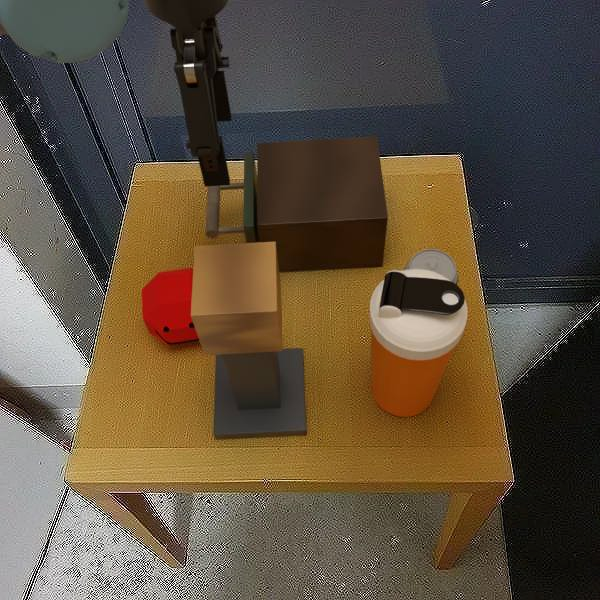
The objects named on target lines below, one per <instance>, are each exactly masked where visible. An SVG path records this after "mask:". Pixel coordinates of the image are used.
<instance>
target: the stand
mask: <svg viewBox="0 0 600 600" xmlns="http://www.w3.org/2000/svg"><path fill="white" fill-rule="evenodd" d="M304 359H305V358H304V348H303V347H296V348H295V347H294V348H293V347H292V348H283V351H277V352H257V353H238V354H218V355H215V372H214V373H215V374H214V400H213V401H214V403H213V437H214V439H215V440H235V439H255V438H273V437H274V438H275V437H277V438H278V437H291V436H292V437H297V436H307V408H306V388H305V387H306V386H305V383H306V382H305V364H304V363H305V362H304Z"/></svg>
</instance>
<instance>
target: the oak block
mask: <svg viewBox="0 0 600 600" xmlns="http://www.w3.org/2000/svg"><path fill="white" fill-rule="evenodd" d="M192 268H193V284H192V302H191V318H192V320H193V323H194V326H195V329H196V332H197V335H198V338H199V341H198V342H199V344H200V346H201V349H202V352H203V354H204V356H216V355H218V354H238V353H257V352H277V351H283V349H284V348H283V311H282V307H283V306H282V282H281V274H280V273H281V272H279V265H278V257H277V249H276V242H259V243H246V242H244V243H242V242H241V243H226V244H225V243H222V244H205V245H204V244H203V245H194V250H193V266H192Z"/></svg>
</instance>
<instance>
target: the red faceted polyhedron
mask: <svg viewBox="0 0 600 600" xmlns="http://www.w3.org/2000/svg"><path fill="white" fill-rule="evenodd" d="M192 284H193V267H185V268H179V269H172V270H165V271H158V272H157V273H156V275H154V277H153V278H151V279H150V280H149V282H148V283H147V284H145V286H144V287H143V288H141V311H142V312H141V313H142V315H141V316H142V320H143V322H144V324H145V327H146V329H147V331H148V334H150V335H152V337H154V338H156V339H157V340H159V341H160V342H162V343H163V344H165V345H166V346H168V347H170V346H171V347H172V346H174V345H175V346H176V345H182V344H188V343H194V342H200V341H199V338H198V335H197V332H196V329H195V326H194V323H193V320H192V318H191V302H192Z"/></svg>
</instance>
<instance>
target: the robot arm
mask: <svg viewBox="0 0 600 600" xmlns="http://www.w3.org/2000/svg"><path fill="white" fill-rule="evenodd" d="M228 2H229V0H144V3H145V6H146V8H147V10H148V11H149V13H150V14H151V15H152V16H153V17H154V18H155V19H157V20H159V21H161V22H164V23H167V24H169V25H170V26H172V27H173V28H170V29H169V35H170V36H169V37H170V42H171V47H172V49H173V50H174V51H175V58H176V61H175V62H174V66H173V71H174V73H175V77H176V80H177V84H178V87H179V92H180V98H181V103H182V108H183V113H184V119H185V124H186V130H187V135H188V140H187V141H186V142H185V143H186V144H185V146H186V149H187V150H190V154H191V156H192V158H197V160H198V165H199V168H200V172H201V178H202V181H203V186H204V187H208V186H224V185H230V183H231V179H230V173H229V167H228V163H227V157H226V153H225V152H226V151H225V146H224V141H223V136H222V135H220V132H219V122H231V121H232V112H231V111H232V110H231V106H230V98H229V92H228V88H227V87H228V86H227V82H226V75H225V70H220V69H230V57H229V56H222V54H221V53H222V52H223V49H224V45H223V43H222V40H221V35H220V30H219V25H218V20H217V15H218V14H220V13H221V12H222V11H223V10H224V9H225V7H226V6H227V4H228ZM129 8H130V0H0V36H3V35H8V36H9V37H10V38H11V39H12V41H13V42H14V43H15V44H16V45H17V46H18V47H20V49H22V50H24V52H27V53H28V54H30V55H32V56H34V57H37V58H41V59H45V60H49V61H53V62H55V63H60V64H73V63H78V62H84V61H86V60H89V59H92V58H94V57H96V56H98V55H100V54H101V53H103V52H104V51H106V50H107V49H108V48H110V46H112V45H113V44H114V42H115V41H116V40H117V39H118V38H119V36H120V34H121V33H122V31H123V30H124V27H125V25H126V23H127V19H128V15H129V10H130V9H129Z"/></svg>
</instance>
